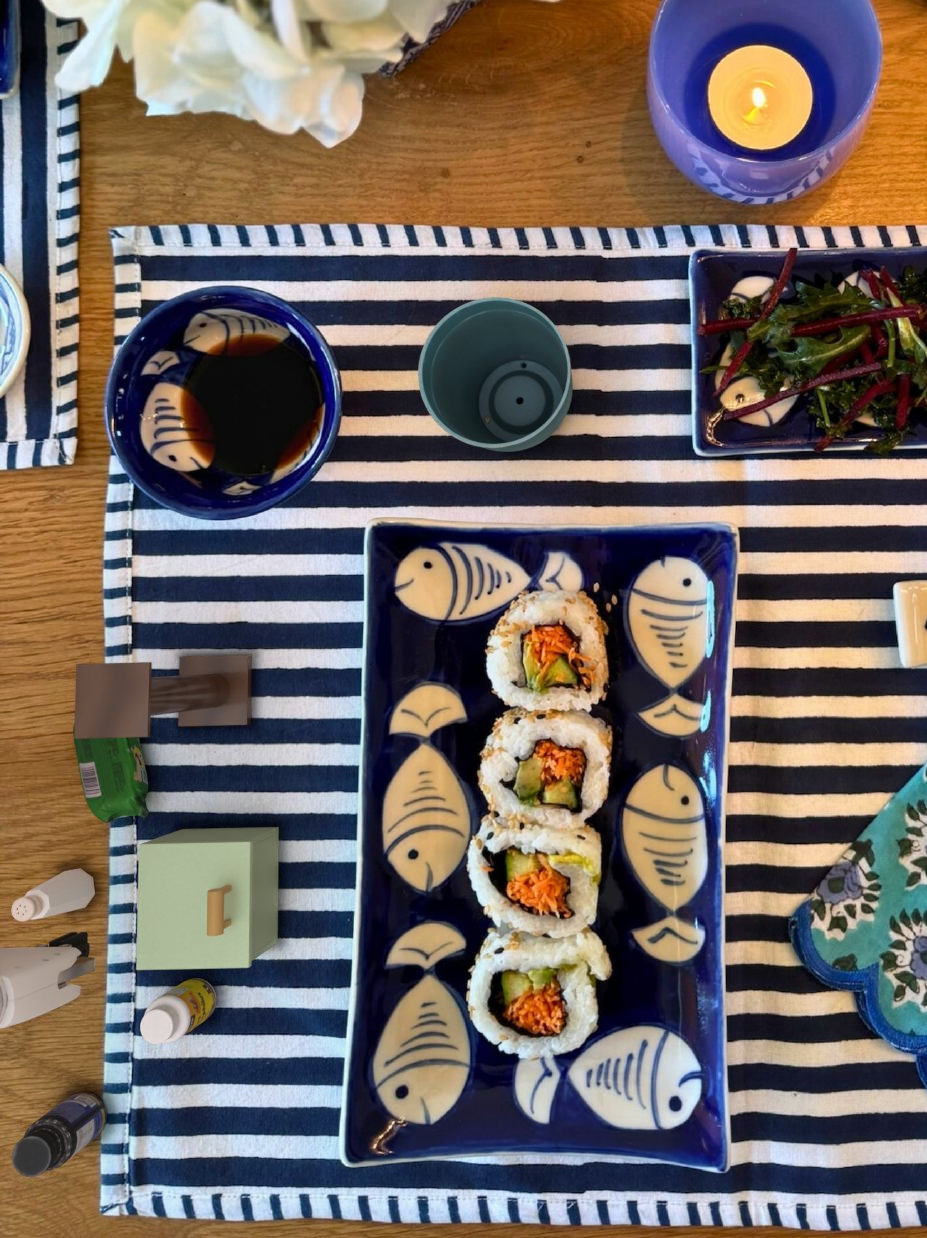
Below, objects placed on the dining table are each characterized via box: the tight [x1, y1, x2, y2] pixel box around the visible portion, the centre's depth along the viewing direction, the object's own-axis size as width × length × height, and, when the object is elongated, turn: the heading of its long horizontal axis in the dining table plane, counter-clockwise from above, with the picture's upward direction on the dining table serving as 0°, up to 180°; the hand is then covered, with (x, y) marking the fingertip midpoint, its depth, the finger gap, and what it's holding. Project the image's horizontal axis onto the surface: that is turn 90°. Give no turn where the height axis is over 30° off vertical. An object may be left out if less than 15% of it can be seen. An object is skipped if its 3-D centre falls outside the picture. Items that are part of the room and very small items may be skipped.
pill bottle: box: [11, 1091, 108, 1178], centre depth 132 cm, size 6×6×11 cm
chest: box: [143, 826, 280, 962], centre depth 135 cm, size 13×15×10 cm
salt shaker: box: [10, 868, 96, 922], centre depth 135 cm, size 5×5×11 cm
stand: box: [73, 654, 253, 740], centre depth 130 cm, size 9×9×25 cm
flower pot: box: [417, 296, 574, 453], centre depth 136 cm, size 18×18×17 cm
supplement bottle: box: [139, 977, 217, 1045], centre depth 133 cm, size 6×6×10 cm
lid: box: [135, 841, 253, 971], centre depth 127 cm, size 13×15×5 cm
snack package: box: [72, 721, 150, 824], centre depth 139 cm, size 7×16×5 cm, turn 15°
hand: (79, 947), depth 112 cm, fingers closed
